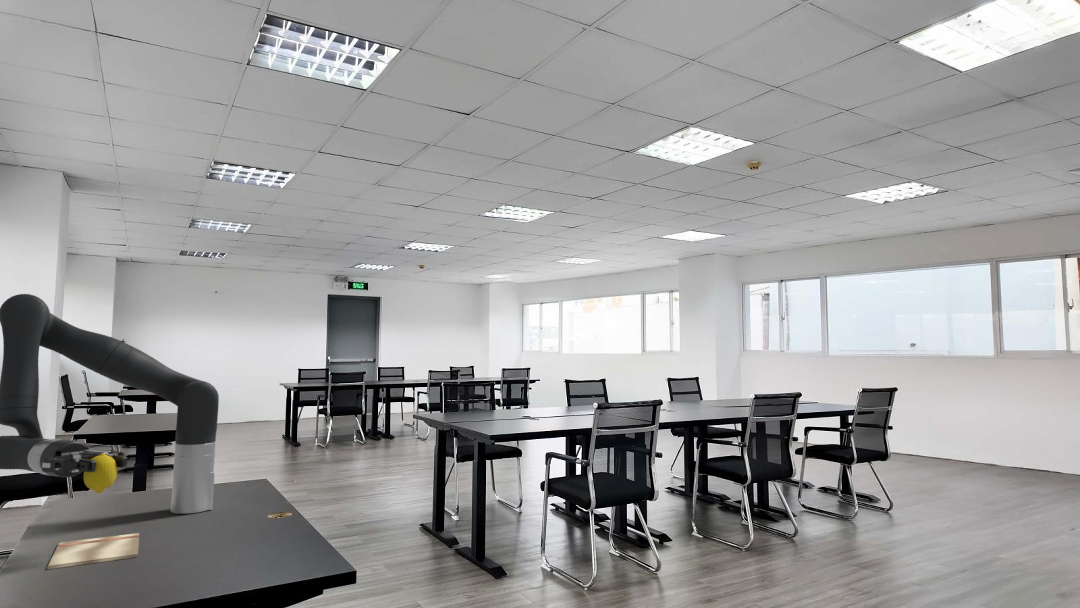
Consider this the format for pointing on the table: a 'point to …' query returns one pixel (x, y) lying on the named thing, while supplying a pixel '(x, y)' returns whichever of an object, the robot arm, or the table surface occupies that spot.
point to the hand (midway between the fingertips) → (109, 464)
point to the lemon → (101, 473)
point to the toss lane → (95, 550)
